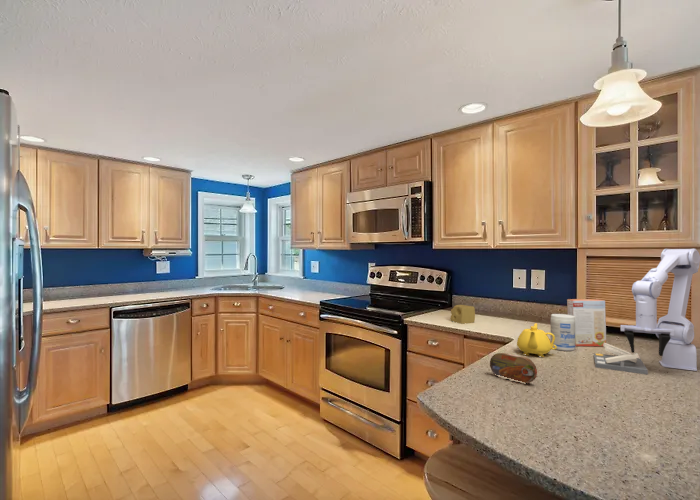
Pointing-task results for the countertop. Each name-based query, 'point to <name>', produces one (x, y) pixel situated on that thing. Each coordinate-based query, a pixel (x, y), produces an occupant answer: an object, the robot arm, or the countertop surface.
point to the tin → (513, 367)
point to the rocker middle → (617, 352)
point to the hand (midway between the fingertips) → (646, 353)
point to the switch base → (620, 364)
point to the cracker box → (588, 321)
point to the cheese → (463, 314)
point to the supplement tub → (563, 331)
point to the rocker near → (622, 357)
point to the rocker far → (616, 348)
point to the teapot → (535, 341)
